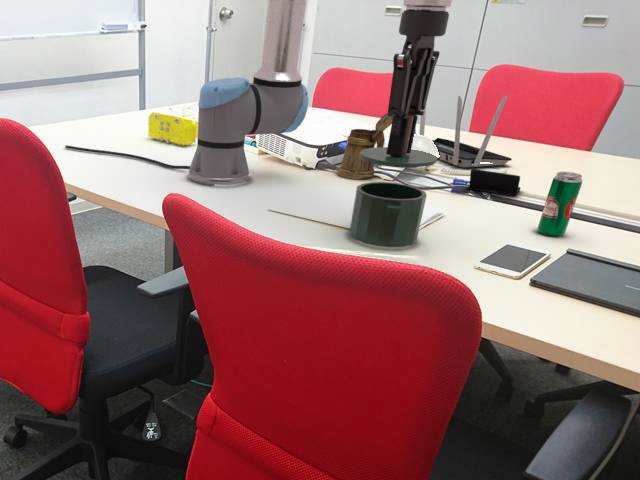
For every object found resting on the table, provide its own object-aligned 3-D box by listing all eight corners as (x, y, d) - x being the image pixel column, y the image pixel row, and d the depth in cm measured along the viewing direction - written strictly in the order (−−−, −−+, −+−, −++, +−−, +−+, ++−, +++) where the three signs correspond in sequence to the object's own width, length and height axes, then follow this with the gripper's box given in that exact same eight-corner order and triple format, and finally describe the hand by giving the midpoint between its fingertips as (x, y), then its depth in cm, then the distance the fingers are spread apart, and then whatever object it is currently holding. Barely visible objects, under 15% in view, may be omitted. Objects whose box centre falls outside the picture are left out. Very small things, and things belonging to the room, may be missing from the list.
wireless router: (525, 171, 179) (548, 93, 169) (455, 176, 173) (474, 95, 163) (446, 145, 207) (461, 77, 197) (383, 148, 201) (395, 78, 191)
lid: (360, 167, 116) (368, 119, 112) (357, 151, 128) (365, 107, 124) (440, 172, 114) (451, 123, 110) (430, 156, 125) (440, 111, 121)
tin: (349, 251, 122) (358, 201, 117) (348, 221, 137) (355, 176, 132) (420, 257, 120) (432, 206, 115) (410, 227, 135) (420, 181, 130)
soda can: (531, 229, 135) (549, 171, 129) (554, 229, 135) (573, 171, 129) (545, 237, 131) (565, 177, 125) (569, 237, 131) (590, 177, 125)
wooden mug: (372, 185, 163) (386, 109, 154) (330, 173, 173) (341, 101, 164) (394, 180, 168) (409, 106, 159) (352, 169, 177) (364, 99, 168)
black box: (521, 182, 162) (525, 154, 153) (518, 205, 159) (523, 178, 151) (470, 182, 167) (471, 155, 158) (467, 205, 164) (468, 179, 156)
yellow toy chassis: (147, 139, 207) (147, 111, 203) (160, 137, 210) (160, 109, 206) (182, 147, 197) (183, 118, 193) (195, 145, 200) (197, 116, 196)
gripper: (428, 10, 101) (398, 163, 113) (467, 9, 111) (435, 150, 123) (383, 8, 106) (358, 156, 117) (424, 8, 116) (398, 144, 127)
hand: (398, 153), depth 120 cm, fingers closed on lid, 3 cm apart
